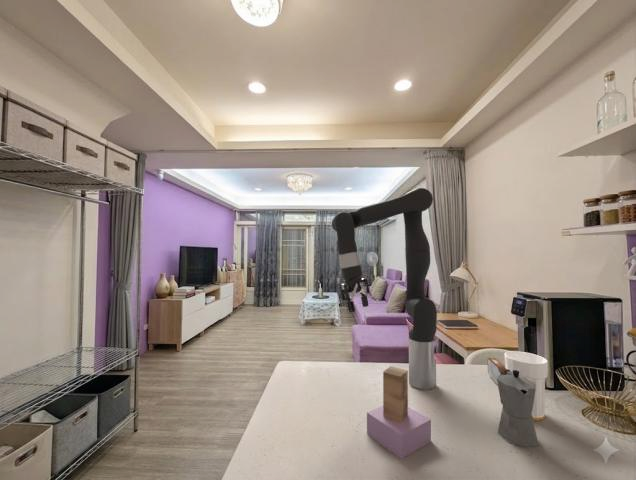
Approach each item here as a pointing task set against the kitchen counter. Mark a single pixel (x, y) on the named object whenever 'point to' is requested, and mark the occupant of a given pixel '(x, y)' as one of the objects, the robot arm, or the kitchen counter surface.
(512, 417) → the coffeepot
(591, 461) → the kitchen counter surface
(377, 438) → the base block
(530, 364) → the cup
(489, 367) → the tin
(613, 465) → the kitchen counter surface
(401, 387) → the walnut block
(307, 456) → the kitchen counter surface
